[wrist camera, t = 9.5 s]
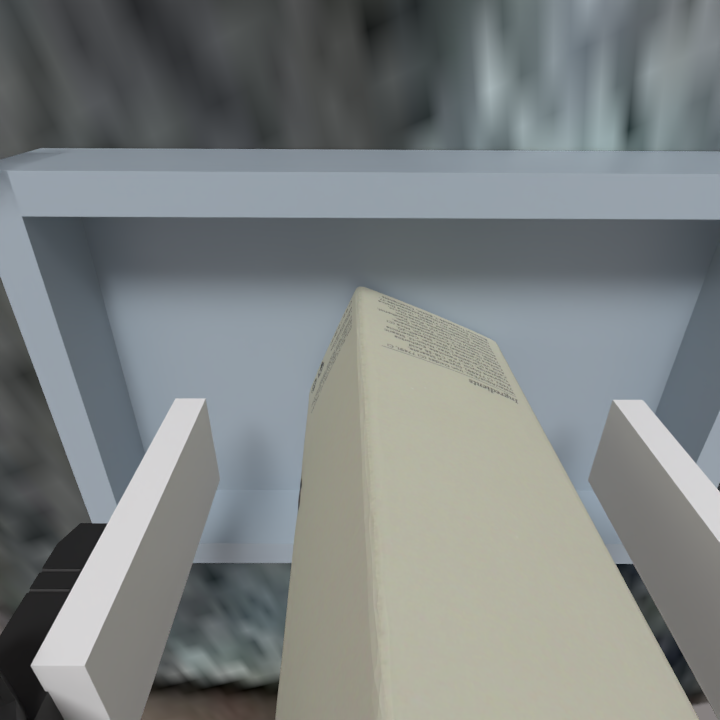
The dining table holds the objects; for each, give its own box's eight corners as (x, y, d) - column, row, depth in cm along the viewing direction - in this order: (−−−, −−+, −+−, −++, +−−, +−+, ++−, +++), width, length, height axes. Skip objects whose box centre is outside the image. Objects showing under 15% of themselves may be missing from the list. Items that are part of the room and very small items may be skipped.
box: (306, 389, 17) (208, 996, 6) (359, 276, 15) (360, 878, 4) (444, 439, 18) (577, 1031, 7) (511, 340, 16) (846, 952, 5)
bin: (41, 148, 14) (-40, 170, 11) (766, 151, 14) (869, 174, 11) (141, 493, 21) (106, 562, 18) (635, 494, 21) (680, 563, 18)
